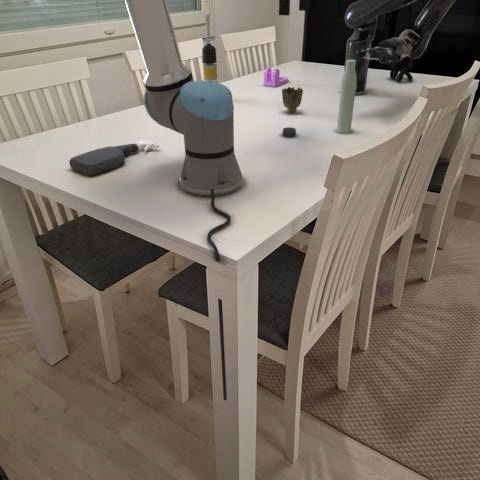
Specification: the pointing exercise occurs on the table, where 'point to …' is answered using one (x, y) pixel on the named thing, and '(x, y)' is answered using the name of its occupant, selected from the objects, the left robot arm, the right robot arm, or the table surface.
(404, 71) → the squiggle
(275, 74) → the bracket
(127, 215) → the table surface
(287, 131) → the cap
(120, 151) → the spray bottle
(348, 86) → the bottle
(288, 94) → the cup
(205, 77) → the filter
